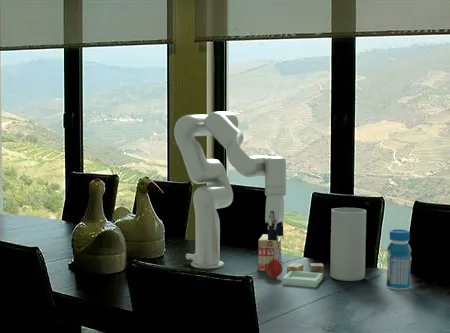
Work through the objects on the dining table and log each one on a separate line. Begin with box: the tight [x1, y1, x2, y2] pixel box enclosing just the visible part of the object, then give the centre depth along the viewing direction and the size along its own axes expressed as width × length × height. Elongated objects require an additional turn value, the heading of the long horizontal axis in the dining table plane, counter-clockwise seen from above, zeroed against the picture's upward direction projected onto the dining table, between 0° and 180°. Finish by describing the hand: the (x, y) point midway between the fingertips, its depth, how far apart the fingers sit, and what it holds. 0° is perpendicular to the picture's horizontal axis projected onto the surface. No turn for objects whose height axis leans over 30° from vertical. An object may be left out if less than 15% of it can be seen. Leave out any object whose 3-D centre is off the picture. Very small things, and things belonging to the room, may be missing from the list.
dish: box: [282, 271, 324, 288], centre depth 258 cm, size 12×12×2 cm
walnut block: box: [309, 262, 325, 274], centre depth 266 cm, size 4×4×4 cm
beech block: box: [286, 262, 304, 274], centre depth 268 cm, size 4×6×4 cm, turn 150°
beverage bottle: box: [386, 228, 412, 291], centre depth 250 cm, size 8×8×20 cm
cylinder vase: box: [329, 207, 367, 282], centre depth 264 cm, size 12×12×25 cm
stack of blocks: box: [257, 233, 282, 272], centre depth 284 cm, size 21×6×12 cm, turn 168°
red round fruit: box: [265, 257, 283, 280], centre depth 262 cm, size 6×6×8 cm
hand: (275, 238), depth 261 cm, fingers open, 9 cm apart
